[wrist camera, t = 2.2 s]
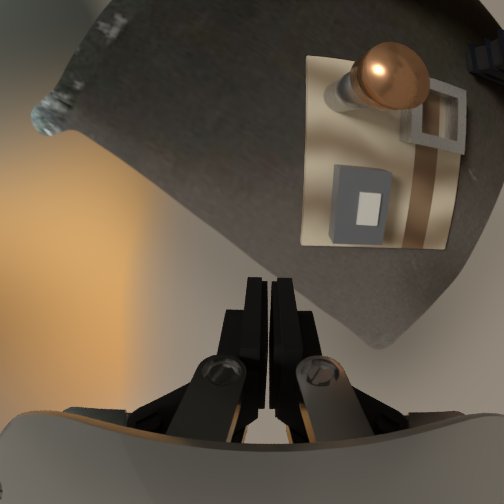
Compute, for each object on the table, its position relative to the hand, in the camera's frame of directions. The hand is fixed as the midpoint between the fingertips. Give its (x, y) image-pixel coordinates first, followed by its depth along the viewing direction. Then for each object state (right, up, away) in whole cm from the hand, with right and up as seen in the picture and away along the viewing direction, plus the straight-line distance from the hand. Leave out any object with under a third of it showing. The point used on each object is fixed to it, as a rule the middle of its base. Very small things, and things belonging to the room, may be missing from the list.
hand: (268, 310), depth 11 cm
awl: (+7, +17, +11) cm, 21 cm away
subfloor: (+13, +12, +14) cm, 23 cm away
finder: (+9, +7, +16) cm, 20 cm away
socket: (+17, +16, +11) cm, 26 cm away
